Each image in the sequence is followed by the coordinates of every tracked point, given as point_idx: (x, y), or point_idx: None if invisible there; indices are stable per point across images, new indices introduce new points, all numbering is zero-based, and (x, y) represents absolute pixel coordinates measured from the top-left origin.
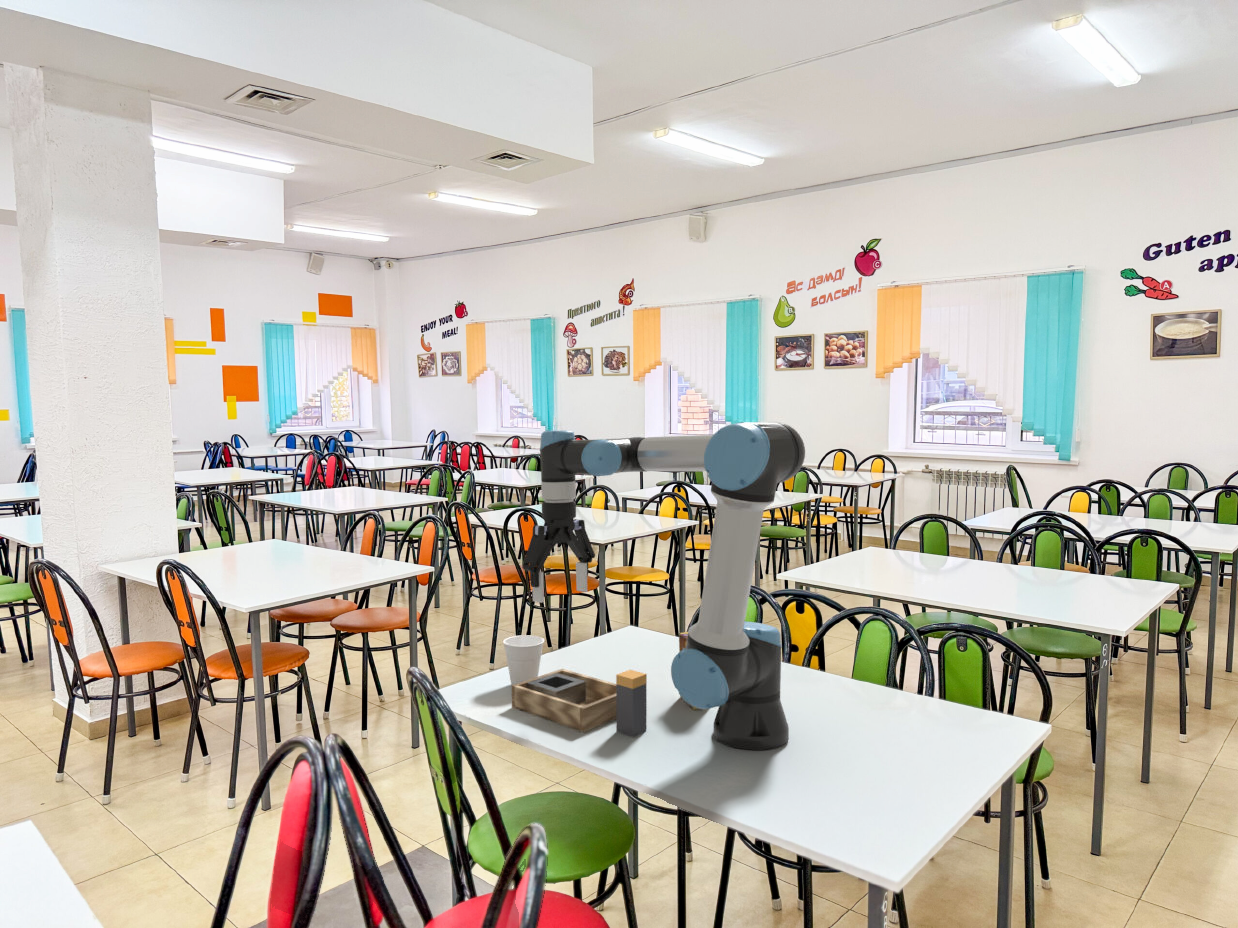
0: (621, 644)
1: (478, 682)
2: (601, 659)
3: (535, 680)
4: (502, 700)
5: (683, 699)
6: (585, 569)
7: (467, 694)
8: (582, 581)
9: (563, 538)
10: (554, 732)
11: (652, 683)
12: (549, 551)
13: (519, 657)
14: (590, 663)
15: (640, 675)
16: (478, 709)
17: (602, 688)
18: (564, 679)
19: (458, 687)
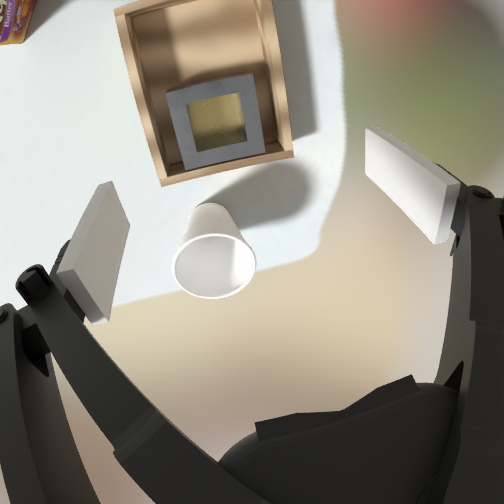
0: (13, 297)
1: (258, 263)
2: (51, 261)
3: (244, 153)
4: (275, 180)
5: (27, 27)
6: (78, 244)
7: (298, 230)
8: (107, 218)
9: (347, 447)
10: (295, 14)
11: (23, 123)
12: (479, 282)
13: (237, 231)
14: None
15: None
16: (324, 168)
17: (140, 72)
18: (191, 130)
19: (291, 259)
